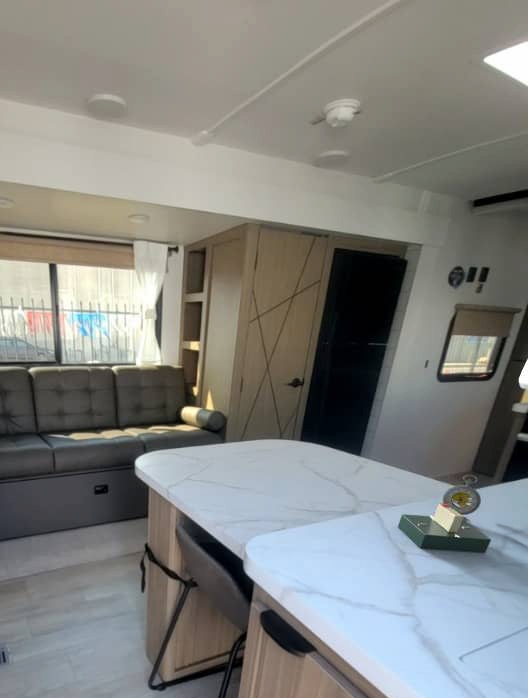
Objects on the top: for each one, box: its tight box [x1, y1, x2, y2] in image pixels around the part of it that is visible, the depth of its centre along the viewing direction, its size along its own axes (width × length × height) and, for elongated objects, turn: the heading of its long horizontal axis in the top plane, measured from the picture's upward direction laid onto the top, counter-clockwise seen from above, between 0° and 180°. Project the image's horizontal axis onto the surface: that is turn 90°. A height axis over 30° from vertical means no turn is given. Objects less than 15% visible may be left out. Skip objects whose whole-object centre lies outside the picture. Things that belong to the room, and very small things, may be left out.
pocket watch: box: [433, 474, 482, 525], centre depth 88 cm, size 8×8×10 cm
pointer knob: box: [433, 502, 465, 533], centre depth 79 cm, size 6×2×4 cm, turn 176°
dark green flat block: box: [397, 513, 492, 554], centre depth 81 cm, size 12×10×3 cm
